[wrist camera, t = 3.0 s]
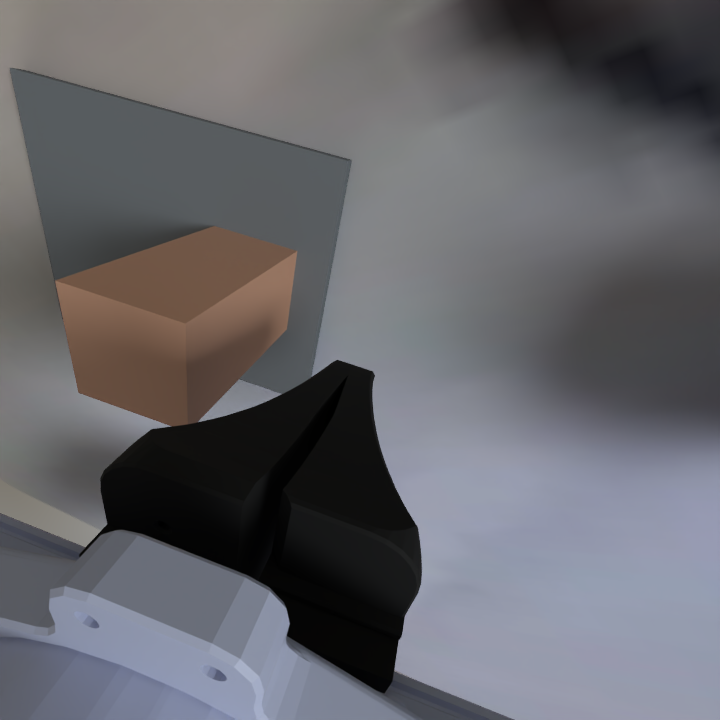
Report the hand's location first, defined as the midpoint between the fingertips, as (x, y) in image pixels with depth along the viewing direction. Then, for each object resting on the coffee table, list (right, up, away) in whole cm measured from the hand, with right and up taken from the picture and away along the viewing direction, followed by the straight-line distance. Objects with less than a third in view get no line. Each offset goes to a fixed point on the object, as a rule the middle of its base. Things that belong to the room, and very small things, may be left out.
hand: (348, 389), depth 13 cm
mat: (-8, +6, +6) cm, 12 cm away
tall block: (-5, +5, +5) cm, 9 cm away
